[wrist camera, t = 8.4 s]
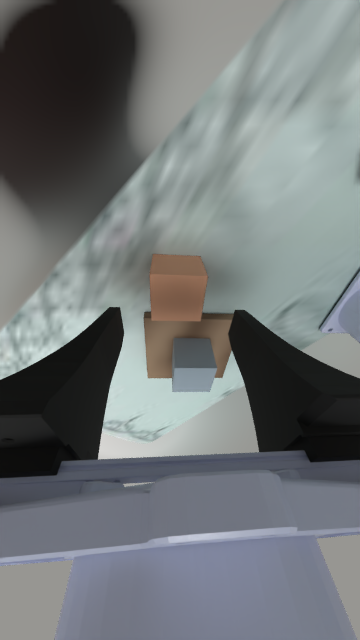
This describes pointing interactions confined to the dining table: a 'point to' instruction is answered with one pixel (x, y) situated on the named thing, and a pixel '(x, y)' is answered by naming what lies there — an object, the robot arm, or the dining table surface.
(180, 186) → the dining table surface
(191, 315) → the terracotta cube
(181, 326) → the walnut base plate
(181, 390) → the slate cube
